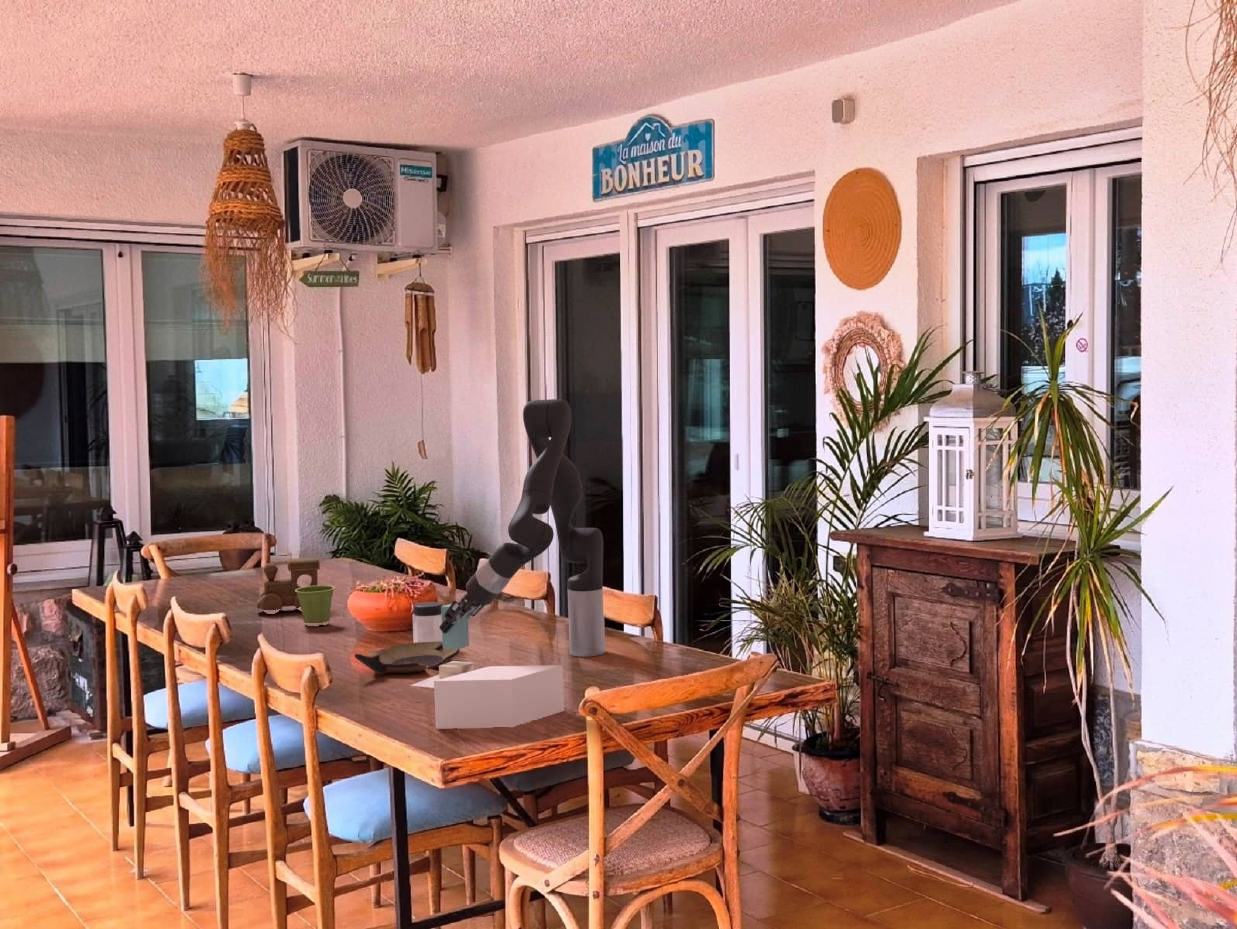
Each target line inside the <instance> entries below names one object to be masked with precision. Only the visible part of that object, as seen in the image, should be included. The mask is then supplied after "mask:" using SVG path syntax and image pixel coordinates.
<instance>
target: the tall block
mask: <svg viewBox="0 0 1237 929" xmlns="http://www.w3.org/2000/svg"><path fill="white" fill-rule="evenodd" d="M451 604H452V603H449V604H445V605H443V606H441V614H442V623H443V622H444V621H445V620H446V618H445V617H444V615H445V613H446V612H447V610H448V609H449V607H450V605H451ZM461 613H462V614H463V612H462V611H461ZM469 631H470V630H469V619H468V614H467V615H466V616H465V617H464V618H460V619H459V620H458V621H457V622H456V623H455V624H454V625H453V626H452V627H451V629H450V630H449V631H448V632H447V633H445V634H444V633H443V632H442V641H443V648H447V649H460V650H462V649H464V648H467V647H469V646H470V636H469V635H470V634H469V633H470V632H469ZM443 648H442V649H443Z"/></svg>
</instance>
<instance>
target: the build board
mask: <svg viewBox="0 0 1237 929" xmlns="http://www.w3.org/2000/svg"><path fill="white" fill-rule="evenodd" d="M436 680H439V674H437V675H434V676H431V677H429V678H426V679H423V680H421V681H418V682H416V683H412V684H410V685H409V686H410V687H420V688H431V689H434V681H436Z"/></svg>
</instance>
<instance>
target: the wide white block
mask: <svg viewBox="0 0 1237 929" xmlns="http://www.w3.org/2000/svg"><path fill="white" fill-rule="evenodd" d="M563 667H564V666H563V664H549V665H546V664H544V665H543V664H541V665H505V666H504V665H501V666H500V665H499V666H497V665H495V666H493V665H492V666H485V667H482V668H478V669H474V671H470V672H466V673H462V674H459V675H455V676H451V677H447V678H444V679H440V680H436V681H434V688H433V690H434V691H433V692H434V713H435V714H434V719H435V721H434V722H435V729H436V728H437V729H436V730H440V729H441V730H443V729H445V730H448V729H452V730H453V728H454V729H455V728H457V729H491V728H492V729H494V728H493V727H509V728H515V726H516V727H518V726H517V725H519V726H521V725H520V724H522V725H525V724H528V723H531V722H533V721H532V720H534V721H537V720H540V719H543V717H544V718H547V717H549V716H552V715H556V714H558V713H562V712H564V711H565V701H564V696H565V695H564V668H563ZM530 721H531V722H530ZM527 722H528V723H527ZM524 723H525V724H524Z"/></svg>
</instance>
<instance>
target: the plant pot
mask: <svg viewBox="0 0 1237 929" xmlns="http://www.w3.org/2000/svg"><path fill="white" fill-rule="evenodd" d="M307 586H308V585H307ZM307 586H301V587H302V588H298V589H296V590H295V592H297V595H298V599H299V601H300V606H301V610H302V612H301V615H302V619H303V623H304V622H305V623H323V622H327V621H329V622H330V619H331V608H332V601H333V600H332V598H333V594H334V590H336V587H335V586H334V585H318V586H308V587H307Z"/></svg>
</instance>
